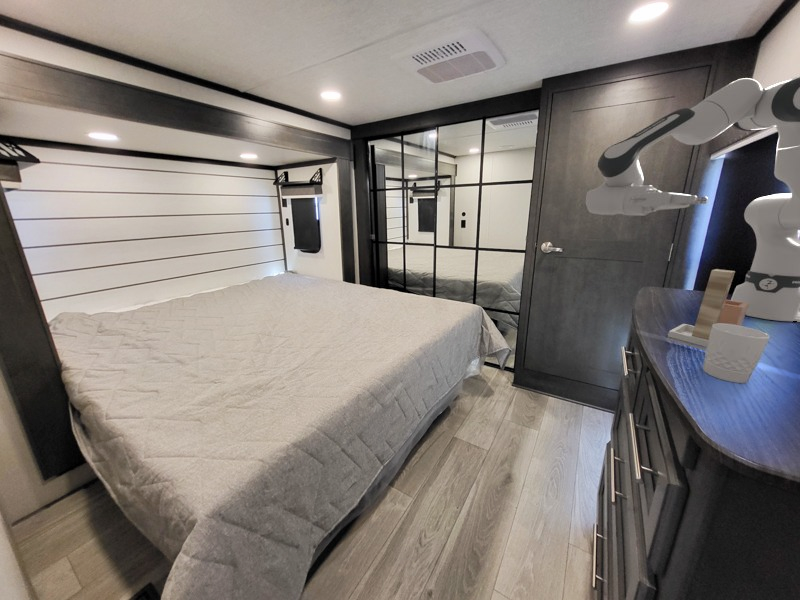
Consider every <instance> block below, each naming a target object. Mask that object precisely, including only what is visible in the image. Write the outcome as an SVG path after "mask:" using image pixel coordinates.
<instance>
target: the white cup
mask: <svg viewBox="0 0 800 600" xmlns="http://www.w3.org/2000/svg"><path fill="white" fill-rule="evenodd" d="M770 337H771V335H770V334H769V333H767V332H764V331H761V330H758V329H756V328H752V327H747V326H744V325H742V326H739V325H733V324H723V323H717V324H713V325H712V329H711V333H710V336H709V340H708V344H707V347H706V348H707V349H706V351H705V353H704V354H705V355H704V360H703V364H702V366H701V367H702V371H703V372H704V373H706V374H707V375H709V376H712V377H713V378H716V379H720V380H722V381H725V382H730V383H736V384H745V383H747V382H749V381H750V379H751V376H752V374H753V371H755V369H756V367H757V365H758V363H759V361H760V360H761V358H762V356H763V353H764V351H765V348H766V346H767V345H768V342H769V340H770V339H771V338H770Z"/></svg>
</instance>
